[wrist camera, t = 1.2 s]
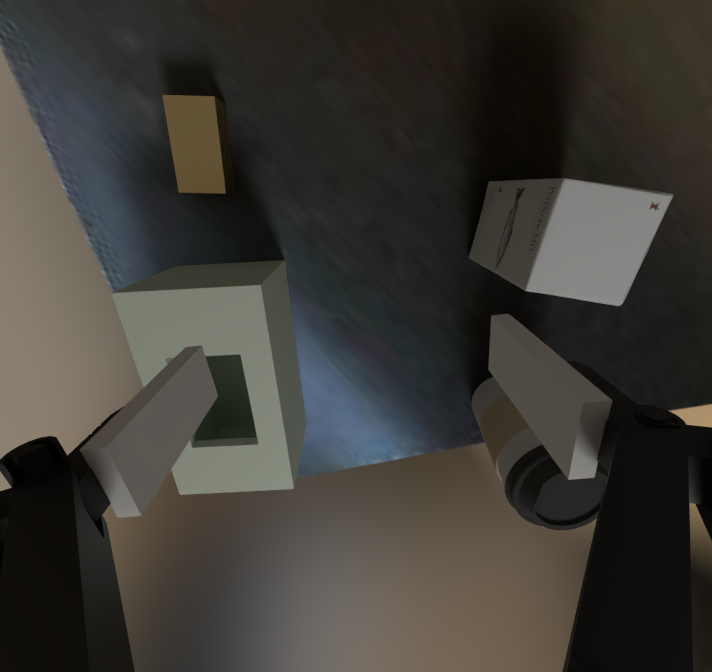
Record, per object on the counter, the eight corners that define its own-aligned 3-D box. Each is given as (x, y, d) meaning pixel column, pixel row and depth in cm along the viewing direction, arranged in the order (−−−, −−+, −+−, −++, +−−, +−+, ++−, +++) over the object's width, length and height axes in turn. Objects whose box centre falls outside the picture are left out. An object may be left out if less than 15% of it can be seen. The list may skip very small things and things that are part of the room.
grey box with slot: (175, 266, 34) (111, 293, 25) (284, 259, 34) (260, 285, 25) (217, 428, 42) (179, 494, 33) (306, 423, 42) (294, 488, 33)
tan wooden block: (179, 104, 29) (162, 94, 27) (227, 105, 29) (214, 96, 27) (193, 192, 32) (178, 192, 29) (236, 193, 32) (225, 193, 29)
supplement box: (486, 179, 32) (565, 171, 20) (562, 192, 32) (681, 192, 21) (464, 258, 35) (523, 292, 23) (534, 269, 35) (626, 308, 23)
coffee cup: (544, 366, 39) (649, 459, 26) (530, 430, 43) (615, 542, 29) (466, 367, 39) (528, 462, 26) (458, 431, 43) (509, 545, 29)
